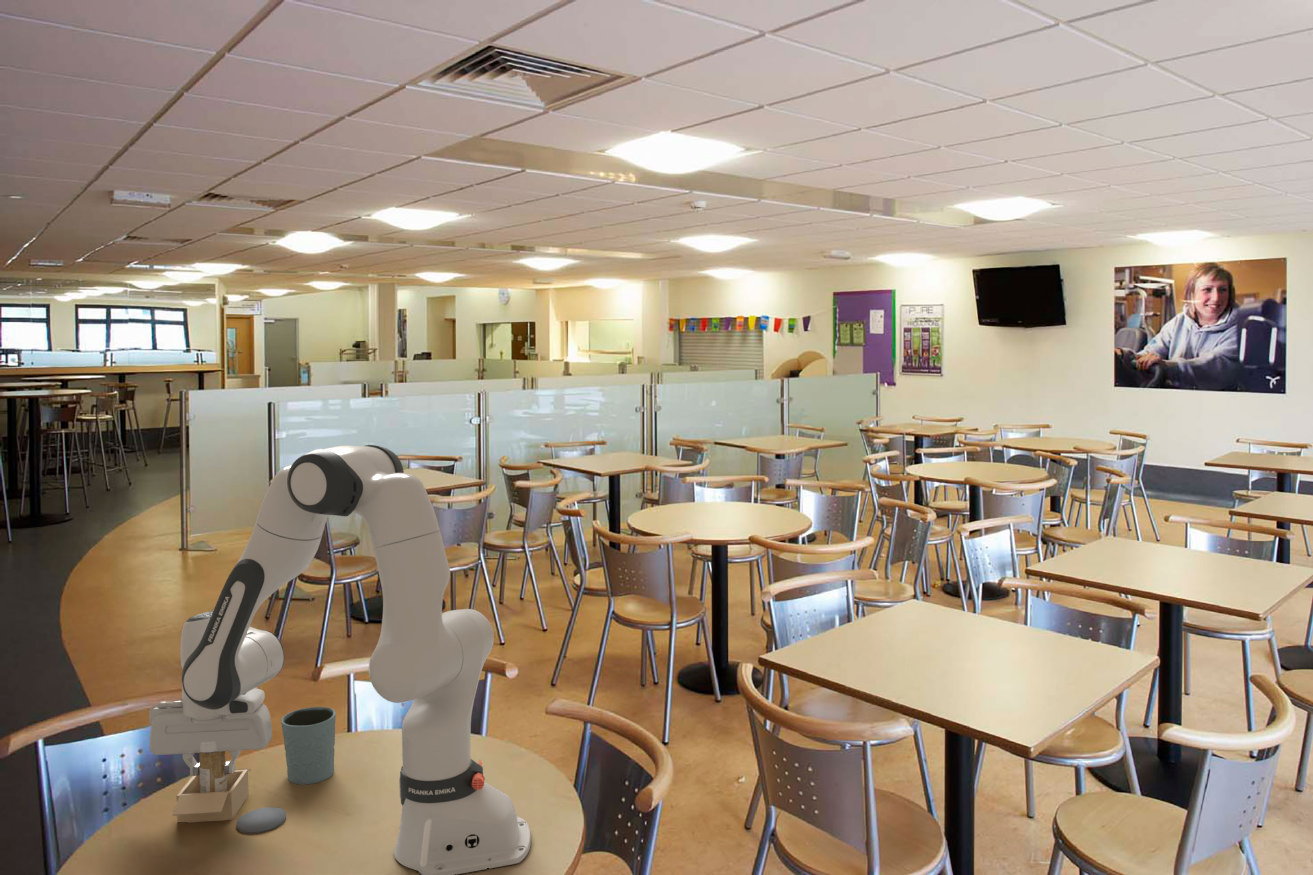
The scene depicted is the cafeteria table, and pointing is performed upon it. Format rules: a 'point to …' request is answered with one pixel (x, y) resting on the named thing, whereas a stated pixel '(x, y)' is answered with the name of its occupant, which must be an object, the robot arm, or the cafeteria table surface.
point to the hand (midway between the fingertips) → (213, 773)
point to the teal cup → (309, 744)
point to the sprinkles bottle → (211, 768)
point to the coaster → (261, 820)
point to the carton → (212, 799)
